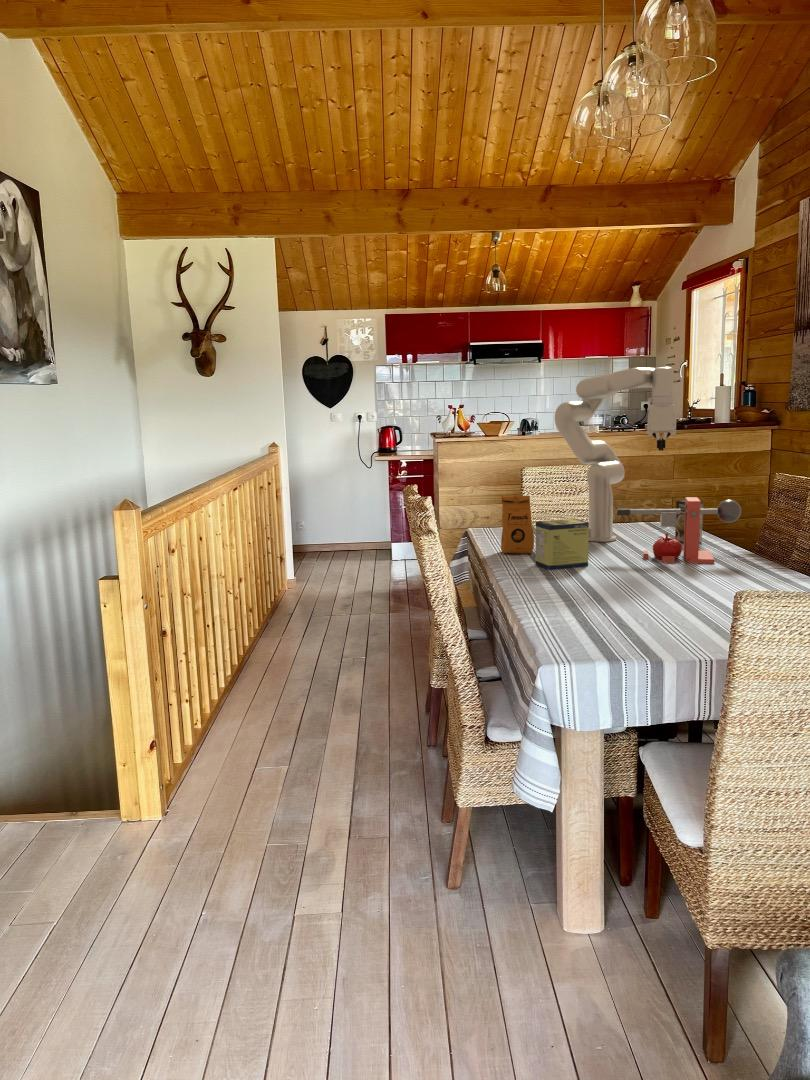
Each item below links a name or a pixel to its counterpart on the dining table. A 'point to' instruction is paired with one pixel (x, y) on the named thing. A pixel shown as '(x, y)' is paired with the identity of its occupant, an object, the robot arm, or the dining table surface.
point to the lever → (724, 511)
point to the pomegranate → (667, 547)
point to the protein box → (562, 543)
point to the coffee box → (681, 521)
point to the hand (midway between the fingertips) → (660, 450)
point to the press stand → (691, 536)
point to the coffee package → (517, 525)
